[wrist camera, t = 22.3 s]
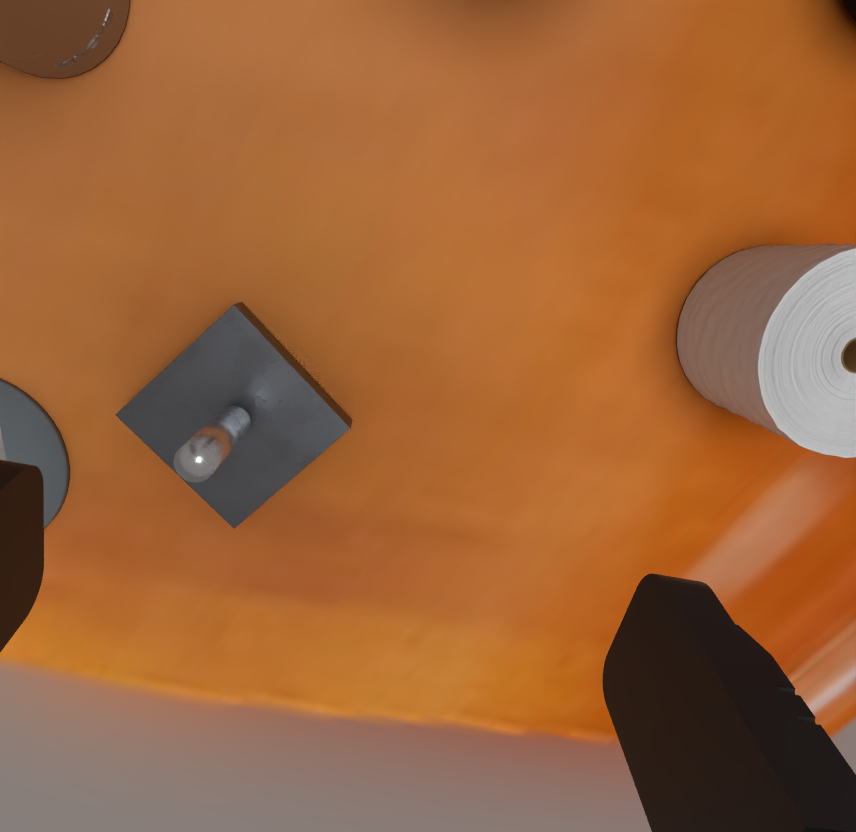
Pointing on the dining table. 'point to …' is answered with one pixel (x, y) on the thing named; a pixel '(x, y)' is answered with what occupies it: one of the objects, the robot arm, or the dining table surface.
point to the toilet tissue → (778, 341)
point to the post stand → (235, 415)
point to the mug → (851, 7)
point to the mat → (34, 444)
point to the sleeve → (2, 448)
